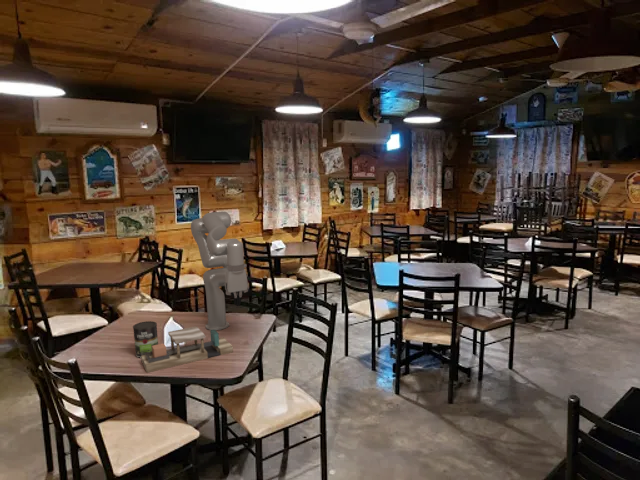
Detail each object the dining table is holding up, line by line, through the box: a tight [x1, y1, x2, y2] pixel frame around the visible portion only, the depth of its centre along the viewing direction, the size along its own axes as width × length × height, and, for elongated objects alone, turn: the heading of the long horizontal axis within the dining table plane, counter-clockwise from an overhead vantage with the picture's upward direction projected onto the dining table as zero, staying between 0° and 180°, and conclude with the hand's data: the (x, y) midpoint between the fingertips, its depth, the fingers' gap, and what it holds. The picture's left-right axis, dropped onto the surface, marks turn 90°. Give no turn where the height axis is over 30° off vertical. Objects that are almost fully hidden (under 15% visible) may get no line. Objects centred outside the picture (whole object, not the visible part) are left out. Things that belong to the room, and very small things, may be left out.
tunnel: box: [140, 325, 234, 374], centre depth 204 cm, size 14×38×11 cm, turn 121°
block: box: [152, 342, 167, 358], centre depth 198 cm, size 5×5×5 cm
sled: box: [145, 330, 220, 363], centre depth 203 cm, size 9×31×6 cm, turn 121°
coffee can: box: [132, 320, 159, 359], centre depth 209 cm, size 10×10×14 cm
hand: (237, 305), depth 215 cm, fingers closed
